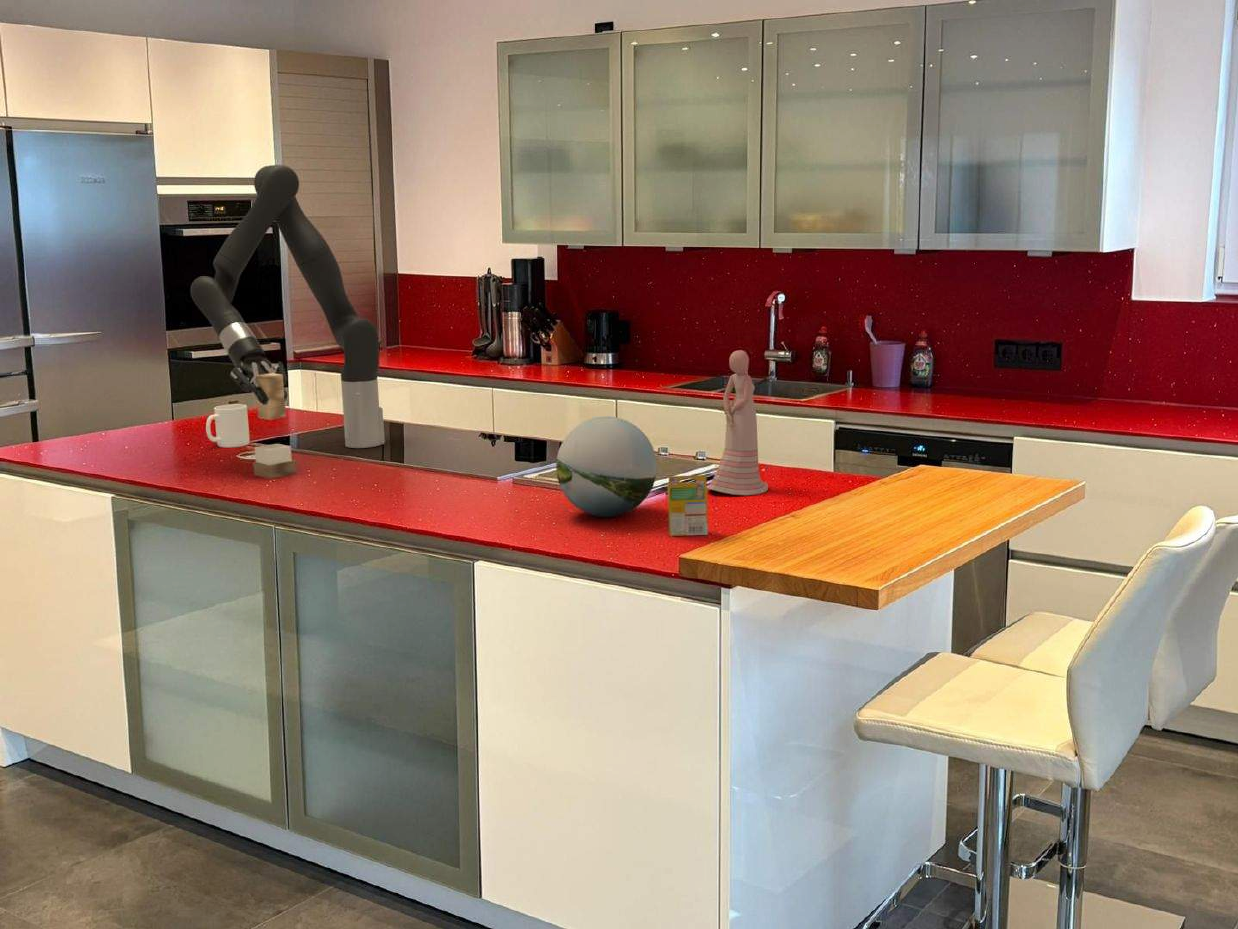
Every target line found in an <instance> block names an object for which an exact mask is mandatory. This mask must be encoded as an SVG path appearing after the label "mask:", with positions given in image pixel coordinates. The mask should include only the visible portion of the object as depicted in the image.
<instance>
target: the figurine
mask: <svg viewBox="0 0 1238 929" xmlns="http://www.w3.org/2000/svg"><path fill="white" fill-rule="evenodd" d="M749 363H750V358H749V356H748V354H747V352H746V351H745V350H742V349H741V350H735V351H733V352H732V353H731V354H730V356H729V364H728V366H729V368H730V370H731V371H732V372H733V374H732V375H730V377H729V380H728V383H727V385H726V388H725V389H724V390H725V391H724V394H723V400H722V401H723V405H724V409H723V412H724V415H725V421H726V424H725V436H724V438H725V439H724V449H723V453H722V455H721V458H720V461H719V463H718V466H717V469H716V472H715V474H714V475H713V478H712V479H711V482H710V483H709V485H708V486H707V490H710V491H711V490H712V491H715V492H719V493H723V494H728V495H733V496H756V495H760V494H764V493H766V492H768V490H769V484H768V483H766V482H765V481H763V480H762V479H761V476H760V472H759V470H760V469H759V448H758V422H757V419H758V418H757V411H756V405H755V401H754V391H755V385H754V383H753V380H752V377H751V376H750V375H749V372H748V370H749ZM733 388H734V390H735V395H734V399H733V401H732V403H731V405H730V396H731V393H732V391H733Z"/></svg>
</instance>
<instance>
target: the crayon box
mask: <svg viewBox="0 0 1238 929" xmlns="http://www.w3.org/2000/svg"><path fill="white" fill-rule="evenodd" d="M707 478H708V476H707V474H699V475H698V474H695V475H674V476H672V475H669V476H668V483H667V511H668V512H667V515H668V535H669V537H672V538H673V537H680V536H682V537H683V536H684V537H685V536H708V535H709V525H708V523H709V521H708V519H709V518H708V517H709V516H708V510H709V509H708V489H707V488H708V485H707ZM686 479H689V480H695V481H691V482H685V481H684V482H683V481H682V482H681V480H686Z"/></svg>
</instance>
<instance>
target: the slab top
mask: <svg viewBox="0 0 1238 929" xmlns="http://www.w3.org/2000/svg"><path fill="white" fill-rule="evenodd" d="M291 448H292V447H291V446H290V445H285V444H281V443H273V444H268V445H260V446H254V456H255V458H254V459H255V462H258V463H262V464H266V465H273V464H279V463H284V462H290V461H292V460H293V459H292V449H291Z"/></svg>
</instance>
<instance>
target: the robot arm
mask: <svg viewBox="0 0 1238 929" xmlns="http://www.w3.org/2000/svg"><path fill="white" fill-rule="evenodd" d="M253 186H254V190H255V192H256V195H257V197H256V198H255V200H254V202H253V204H252V206H251V207H250V209H249V211H247V213H246V214H245V215H244V217H243V218H242V220H240V222H239V223H238V224H237V225H236V226H235V227H234V229H232V231H231V232H230V234H229V235H228V236H227V238H226V239H225V241H224V242H223V244H222V245H221V247H220V249H219V251H218V252H217V254H216V256H215V257H214V259H213V262H212V264H213V267H214V270H215V275H214V278H213V277H210V276H205V275H204V276H203V275H200V276H199V277H197V278H195V279H194V280H193V282H192V283H191V285H190V295H191V298H192V300H193V302H194V304H195V305H196V306H197V308H198V309H199V311H201V313H202V314H203V315H204V316H205V318H206V319H207V320H208V321H209V323H210V324H211V326H212V328H213V330H214V332H215V333H216V335H217V337H218V339H220V342H221V344H222V347H223V348H224V350H225V351H226V353H227V355H228V356H229V358H230V360H231V362H232V363H233V365H234V367H233V368H232V369H231V372H230V374H229V377H230V379H231V380H232V381H234V383H235V384H236V385H237V386H239V388H240V389H242V390H243V392H245V393H249V392H250V393H252V394H254V395H255V398H256V400H257V399H258V400H259V402H260V403H262V404H263V405H266V404H267V402H268V401H269V398H268V397H267V395H266V393H265V392H264V390H263V389H262V387H260V383H259V382H258V380H257V376H258V375H262V374H272V373H274V374H282V375H283V386H285V384H286V383H287V381H288V378H287V374H286V371H285V367H284V363H283V362H281V361H278V362H277V363H272V362H271V361H270V360H268V358H267V356H266V353H265V350H264V349H263V347H262V345H261V344H260V342H259V340H258V339H257V338H256V335H255V334H254V333H253V331H252V329H251V328H250V327H249V326H248V324H246V322H245V320H244V319H243V317H242V315H241V313H240V312H239V311H238V310H237V309H236V308H235V307H234V306H233V305H232V304H231V303H232V301H233V300H234V296H235V293H236V290H237V287H238V284H239V280H240V277H241V274H242V273H243V272H244V270H245V269H246V266H247V265H248V262H249V261H250V259H251V258H252V256H253V255H254V253H255V251H256V249H257V248H258V246H259V244H260V243H261V241H262V240H263V238H264V236H265V235H266V233H267V232H268V230H269V229H270V228H271V226H272V225H273V223H274V222H275V223H276V226H277V227H278V228H279V229H278V230H279V231H280V233H281V236H282V237H283V240H284V242H285V245H286V246H287V247H288V250H289V252H290V254H291V256H292V258H293V260H294V262H295V264H296V266H297V268H298V269H299V271H300V274H301V275H302V277H303V279H304V280H305V282H306V284H307V285H308V288H309V289H310V292H311V293H312V295H313V297H314V298H315V299H316V301H317V303H318V304H319V306H320V308H321V309H322V312H323V314H324V316H325V318H326V320H327V323H328V325H329V326H328V327H329V329H330V331H331V334H332V336H333V338H334V341H335V342H336V344H337V346H339V347H340V349H342V350H343V353H344V356H343V359H344V360H343V361H344V362H343V363H344V364H343V368H341V369H340V381H341V397H342V412H343V425H344V428H343V429H344V441H345V443H344V444H345V447H346V448H352V449H365V448H374V447H377V446H378V447H379V446H381V445H385V442H386V440H385V428H384V424H385V423H384V410H383V408H382V407H380V399H379V398H380V396H379V384H378V383H379V382H378V372H379V368H380V342H379V334H378V330H377V328H376V325H375V324H374V323H373V322H372V321H370V320H369V319H367V318H363V317H360V315H359V314H358V313H357V311H356V310H355V308H354V306H353V304H352V303H351V301H350V299H349V298H348V295H347V293H346V290H345V285H344V280H343V276H342V272H341V269H340V266H339V263H338V260H337V259H336V257H335V255H334V252H333V251H332V249H331V247H330V246H329V244H328V241H326V239H325V238H324V236H323V235H322V234H321V233H320V231H319V230H318V229H317V228H316V227H315V226H314V224H313V223H312V222H311V221H310V219H309V218H308V217H307V216H306V214H305V213H304V211H303V210H302V208H301V206H300V203H299V201H298V199H297V197H296V195H297V194H298V192H299V188H300V180H299V176H298V175H297V173H296V172H295V170H294V169H293V168H291V167H289V166H287V165H282V164H274V165H273V164H271V165H265V166H263V167H261V168H260V169H259V170H258V171H257V172H256V173H255V176H254V178H253ZM288 396H289V395H288V392H287V390H286V389H285V388H284V399H285V401H286V400H287V398H288Z"/></svg>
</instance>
